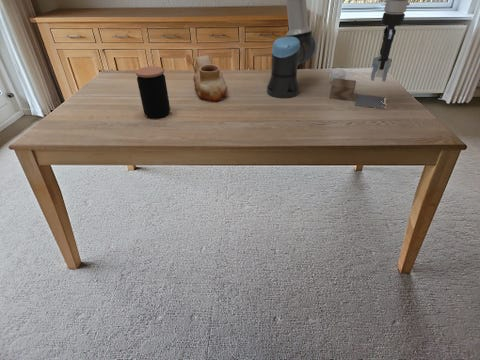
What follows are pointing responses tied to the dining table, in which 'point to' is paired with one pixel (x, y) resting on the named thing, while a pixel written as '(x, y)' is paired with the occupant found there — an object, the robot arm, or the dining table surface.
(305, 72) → the dining table surface
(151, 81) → the coffee jar
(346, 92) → the pedestal
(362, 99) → the mat
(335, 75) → the geometric ball
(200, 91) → the ceramic vessel
